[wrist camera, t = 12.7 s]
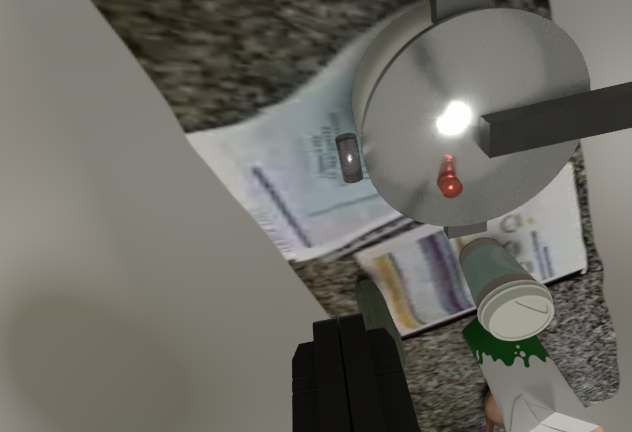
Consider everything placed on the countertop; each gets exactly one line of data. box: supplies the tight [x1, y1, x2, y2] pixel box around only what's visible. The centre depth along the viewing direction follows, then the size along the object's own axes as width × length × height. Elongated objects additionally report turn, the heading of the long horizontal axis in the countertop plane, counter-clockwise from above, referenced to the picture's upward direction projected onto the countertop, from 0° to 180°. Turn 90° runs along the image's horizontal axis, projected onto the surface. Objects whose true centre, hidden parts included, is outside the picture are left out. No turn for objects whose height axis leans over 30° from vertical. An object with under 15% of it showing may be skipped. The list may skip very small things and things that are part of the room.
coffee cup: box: [459, 238, 554, 341], centre depth 51 cm, size 8×8×12 cm
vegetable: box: [355, 279, 406, 371], centre depth 49 cm, size 4×4×20 cm
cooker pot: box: [352, 0, 489, 239], centre depth 40 cm, size 25×18×10 cm
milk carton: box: [462, 316, 599, 432], centre depth 56 cm, size 9×9×20 cm
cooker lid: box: [335, 7, 632, 227], centre depth 34 cm, size 19×25×4 cm
